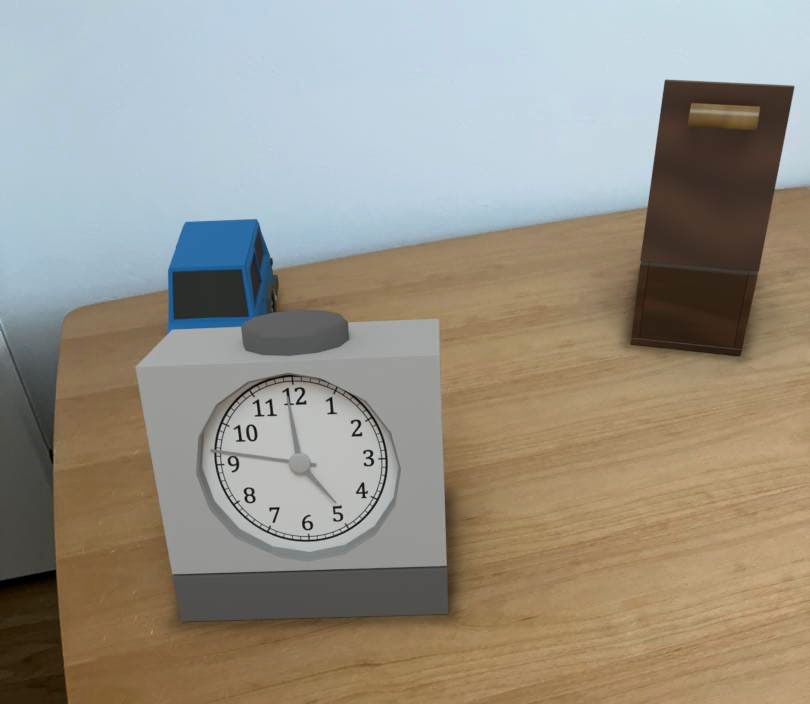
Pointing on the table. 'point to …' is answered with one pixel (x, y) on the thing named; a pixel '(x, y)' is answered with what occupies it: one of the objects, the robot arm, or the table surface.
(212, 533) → the alarm clock
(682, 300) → the chest
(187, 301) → the toy car
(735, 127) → the lid
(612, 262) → the table surface
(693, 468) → the table surface
